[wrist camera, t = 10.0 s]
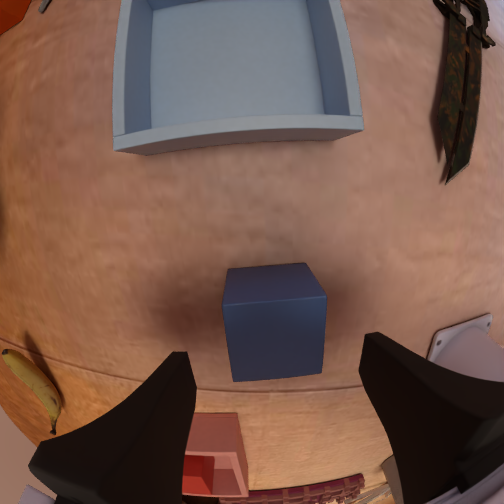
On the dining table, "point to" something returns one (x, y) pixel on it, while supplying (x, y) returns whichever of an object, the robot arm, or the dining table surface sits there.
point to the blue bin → (231, 74)
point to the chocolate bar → (304, 493)
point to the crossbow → (375, 494)
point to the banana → (35, 382)
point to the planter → (393, 479)
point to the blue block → (274, 322)
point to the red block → (198, 474)
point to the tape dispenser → (12, 13)
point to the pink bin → (220, 452)
